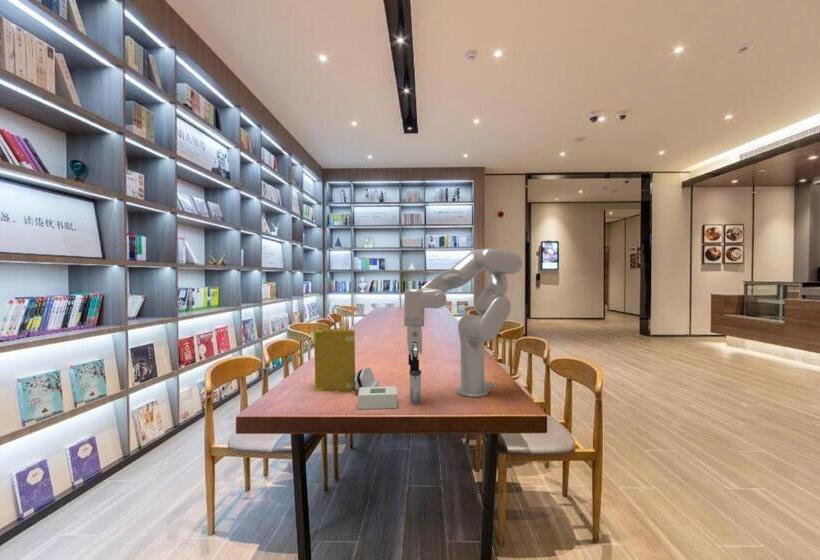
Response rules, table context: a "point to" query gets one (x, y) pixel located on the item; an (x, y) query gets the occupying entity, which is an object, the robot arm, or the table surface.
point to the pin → (415, 387)
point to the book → (334, 360)
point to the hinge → (365, 379)
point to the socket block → (377, 397)
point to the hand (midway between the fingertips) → (413, 367)
